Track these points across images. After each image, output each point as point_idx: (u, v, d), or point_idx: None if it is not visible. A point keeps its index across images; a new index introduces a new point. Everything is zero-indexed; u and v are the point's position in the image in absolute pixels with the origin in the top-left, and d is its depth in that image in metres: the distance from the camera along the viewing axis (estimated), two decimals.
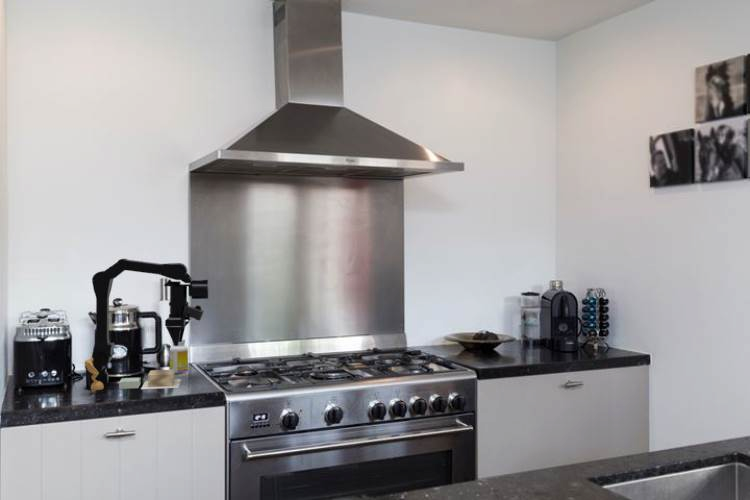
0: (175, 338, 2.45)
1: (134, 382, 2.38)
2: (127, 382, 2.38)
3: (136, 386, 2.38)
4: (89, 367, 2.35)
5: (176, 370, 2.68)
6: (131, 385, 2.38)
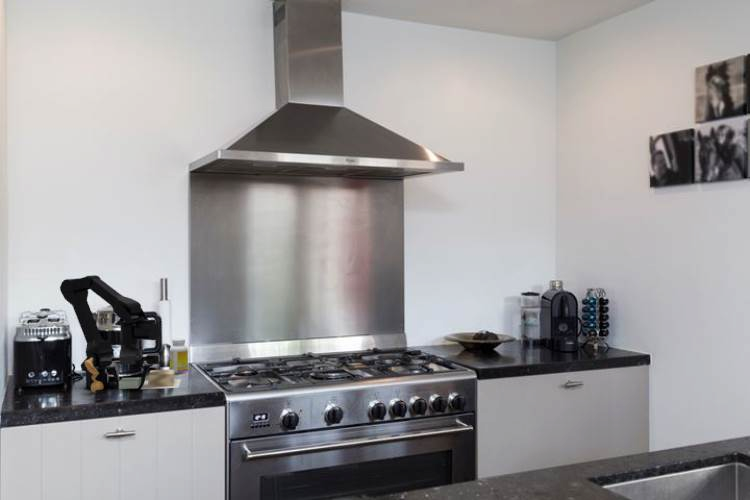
0: None
1: (134, 382, 2.38)
2: (127, 382, 2.38)
3: (136, 386, 2.38)
4: (89, 367, 2.35)
5: (176, 370, 2.68)
6: (131, 385, 2.38)
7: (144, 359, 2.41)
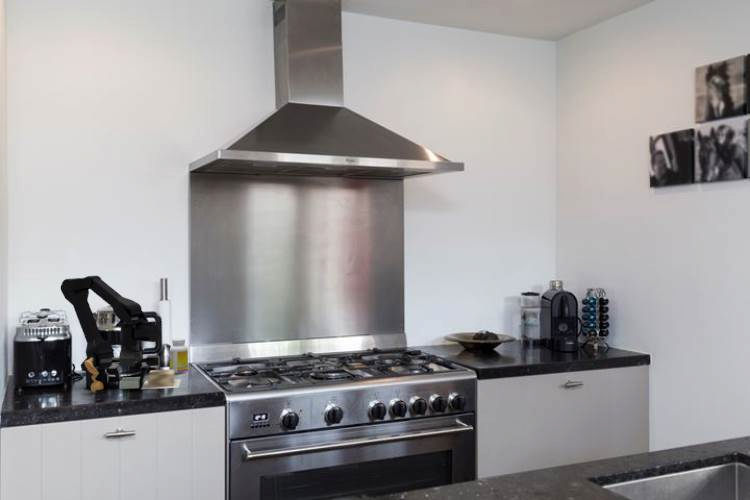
0: None
1: (134, 381, 2.38)
2: (127, 381, 2.38)
3: (136, 385, 2.38)
4: (89, 367, 2.35)
5: (176, 370, 2.68)
6: (131, 384, 2.38)
7: (144, 361, 2.41)
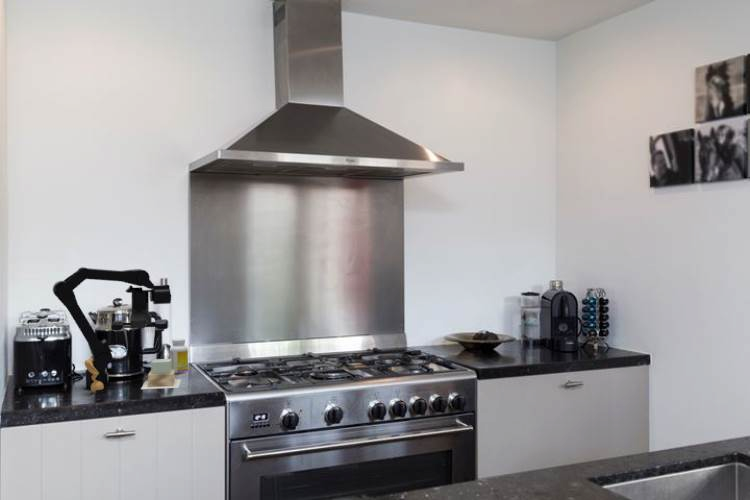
0: None
1: (166, 363, 2.42)
2: (159, 363, 2.42)
3: (168, 367, 2.42)
4: (89, 367, 2.35)
5: (176, 370, 2.68)
6: (163, 366, 2.42)
7: (153, 324, 2.53)
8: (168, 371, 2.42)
